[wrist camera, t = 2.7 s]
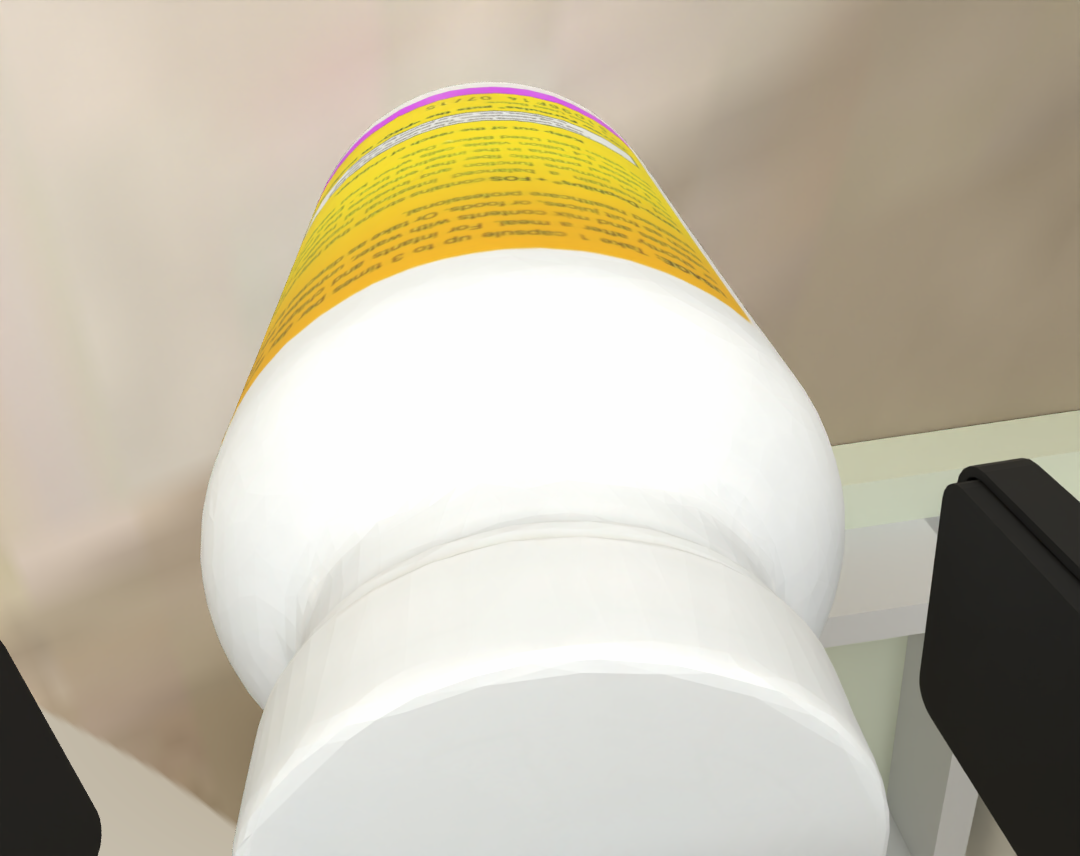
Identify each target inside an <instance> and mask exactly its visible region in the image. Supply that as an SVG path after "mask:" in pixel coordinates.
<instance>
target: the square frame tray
mask: <svg viewBox="0 0 1080 856" xmlns="http://www.w3.org/2000/svg"><path fill="white" fill-rule="evenodd" d="M831 447H832V450H833V453H834V456H835V459H836V463H837V467H838V471H839V476H840V480H841V484H842V491H843V498H844V505H845V551H844V557H843V562H842V568H841V574H840V578H839V582H838V587H837V591H836V595H835V599H834V602H833V605H832V608H831V610H830V613H829V616H828V619H827V621H826V623H825V626H824V628H823V630H822V633H821V635H820V637H819V641H820V642H821V643H822V645H823V647H824V649H825V651H826V653H827V655H828V657H829V659H830V661H831V663H832V665H833V667H834V668H835V671H836V673H837V675H838V678H839V680H840V682H841V685H842V687H843V689H844V692H845V694H846V696H847V699H848V701H849V704H850V707H851V709H852V711H853V714H854V716H855V718H856V720H857V722H858V724H859V726H860V728H861V731H862V733H863V735H864V737H865V739H866V741H867V743H868V746H869V748H870V750H871V752H872V754H873V756H874V758H875V761H876V764H877V766H878V769H879V772H880V774H881V777H882V780H883V784H884V788H885V793H886V798H887V803H888V807H889V825H890V833H889V839H888V846H887V852H886V856H1017V855H1016V853H1015V851H1014V850H1013V848H1012V847H1011V845H1010V843H1009V842H1008V840H1007V839H1006V837H1005V835H1004V834H1003V832H1002V831H1001V829H1000V827H999V826H998V824H997V823H996V821H995V819H994V818H993V816H992V815H991V813H990V812H989V810H988V808H987V807H986V805H985V804H984V802H983V800H982V799H981V797H980V796H979V794H978V792H977V791H976V789H975V788H974V786H973V784H972V783H971V781H970V780H969V778H968V776H967V775H966V773H965V772H964V770H963V768H962V767H961V765H960V764H959V762H958V760H957V759H956V757H955V756H954V754H953V752H952V751H951V749H950V748H949V746H948V745H947V743H946V741H945V740H944V738H943V737H942V735H941V733H940V732H939V730H938V729H937V727H936V725H935V724H934V722H933V721H932V719H931V717H930V716H929V714H928V712H927V710H926V708H925V705H924V703H923V700H922V696H921V692H920V685H919V675H920V667H921V659H922V651H923V644H924V636H925V628H926V620H927V613H928V605H929V597H930V589H931V582H932V574H933V566H934V558H935V551H936V543H937V535H938V527H939V520H940V512H941V504H942V497H943V493H944V490H945V488H946V487H947V486H948V485H950V484H952V483H957V481H958V477H959V475H960V473H961V472H962V470H963V469H964V468H966V467H968V466H973V465H979V464H986V463H992V462H998V461H1005V460H1011V459H1017V458H1026V459H1030V460H1032V461H1033V462H1035V463H1036V464H1038V465H1039V466H1040V467H1041V468H1042V469H1043V470H1045V471H1046V472H1047V473H1048V474H1049V475H1050V476H1051V477H1052V478H1054V479H1055V480H1056V481H1057V482H1058V483H1059V484H1060V485H1061V486H1063V487H1064V488H1065V489H1066V490H1067V491H1068V492H1069V493H1070V494H1072V495H1073V496H1074V497H1075V498H1076V499H1077V500H1078V501H1079V502H1080V410H1077V411H1070V412H1064V413H1057V414H1050V415H1043V416H1036V417H1029V418H1022V419H1016V420H1009V421H1002V422H995V423H988V424H981V425H974V426H967V427H961V428H954V429H947V430H940V431H933V432H926V433H919V434H913V435H906V436H899V437H892V438H885V439H878V440H871V441H864V442H858V443H851V444H844V445H837V446H831Z"/></svg>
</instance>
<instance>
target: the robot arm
mask: <svg viewBox="0 0 1080 856" xmlns="http://www.w3.org/2000/svg"><path fill="white" fill-rule="evenodd" d="M919 685H920V692H921V696H922V700H923V703H924V705H925V708H926V710H927V712H928V714H929V716H930V717H931V719H932V721H933V722H934V724H935V725H936V727H937V729H938V730H939V732H940V733H941V735H942V737H943V738H944V740H945V741H946V743H947V745H948V746H949V748H950V749H951V751H952V752H953V754H954V756H955V757H956V759H957V760H958V762H959V764H960V765H961V767H962V768H963V770H964V772H965V773H966V775H967V776H968V778H969V780H970V781H971V783H972V784H973V786H974V788H975V789H976V791H977V792H978V794H979V796H980V797H981V799H982V800H983V802H984V804H985V805H986V807H987V808H988V810H989V812H990V813H991V815H992V816H993V818H994V819H995V821H996V823H997V824H998V826H999V827H1000V829H1001V831H1002V832H1003V834H1004V835H1005V837H1006V839H1007V840H1008V842H1009V843H1010V845H1011V847H1012V848H1013V850H1014V851H1015V853H1016V855H1017V856H1080V502H1079V501H1078V500H1077V499H1076V498H1075V497H1074V496H1073V495H1072V494H1070V493H1069V492H1068V491H1067V490H1066V489H1065V488H1064V487H1063V486H1061V485H1060V484H1059V483H1058V482H1057V481H1056V480H1055V479H1054V478H1052V477H1051V476H1050V475H1049V474H1048V473H1047V472H1046V471H1045V470H1043V469H1042V468H1041V467H1040V466H1039V465H1038V464H1036V463H1035V462H1033V461H1032V460H1030V459H1026V458H1017V459H1011V460H1005V461H998V462H992V463H986V464H979V465H973V466H968V467H966V468H964V469H963V470H962V472H961V473H960V475H959V477H958V481H957V483H952V484H950V485H948V486H947V487H946V488H945V490H944V493H943V497H942V504H941V512H940V520H939V527H938V535H937V543H936V551H935V558H934V566H933V574H932V582H931V589H930V597H929V605H928V613H927V620H926V628H925V636H924V644H923V651H922V659H921V667H920V675H919ZM100 843H101V823H100V818H99V815H98V813H97V810H96V809H95V807H94V805H93V803H92V801H91V800H90V798H89V796H88V794H87V792H86V791H85V789H84V787H83V785H82V784H81V782H80V780H79V778H78V776H77V775H76V773H75V771H74V769H73V768H72V766H71V764H70V762H69V760H68V759H67V757H66V755H65V753H64V751H63V749H62V748H61V746H60V744H59V743H58V741H57V739H56V737H55V735H54V733H53V732H52V730H51V728H50V727H49V724H48V723H47V721H46V719H45V717H44V715H43V714H42V712H41V710H40V708H39V707H38V705H37V703H36V701H35V699H34V698H33V696H32V694H31V692H30V690H29V689H28V687H27V685H26V683H25V681H24V680H23V678H22V676H21V674H20V673H19V671H18V669H17V667H16V665H15V664H14V662H13V660H12V658H11V656H10V655H9V653H8V651H7V649H6V647H5V646H4V645H3V643H2V642H1V641H0V856H98V852H99V849H100Z"/></svg>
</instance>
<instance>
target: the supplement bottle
mask: <svg viewBox="0 0 1080 856" xmlns="http://www.w3.org/2000/svg"><path fill="white" fill-rule="evenodd" d="M844 551H845V505H844V498H843V491H842V484H841V480H840V476H839V471H838V467H837V463H836V459H835V456H834V453H833V450H832V447H831V444H830V441H829V438H828V435H827V433H826V431H825V428H824V426H823V424H822V421H821V419H820V417H819V415H818V412H817V411H816V409H815V407H814V405H813V404H812V402H811V400H810V398H809V397H808V395H807V393H806V391H805V390H804V388H803V387H802V386H801V384H800V383H799V381H798V380H797V379H796V377H795V376H794V374H793V373H792V372H791V370H790V369H789V368H788V366H787V365H786V363H785V362H784V361H783V359H782V358H781V357H780V355H779V354H778V352H777V351H776V350H775V348H774V347H773V345H772V344H771V343H770V341H769V340H768V339H767V337H766V336H765V335H764V333H763V332H762V331H761V329H760V328H759V327H758V325H757V324H756V323H755V321H754V320H753V319H752V317H751V316H750V315H749V313H748V312H747V310H746V309H745V308H744V306H743V305H742V303H741V302H740V301H739V299H738V298H737V296H736V295H735V293H734V292H733V291H732V289H731V288H730V286H729V285H728V284H727V282H726V281H725V279H724V278H723V277H722V275H721V274H720V272H719V271H718V270H717V268H716V267H715V265H714V264H713V263H712V261H711V260H710V258H709V257H708V255H707V254H706V253H705V251H704V250H703V248H702V247H701V245H700V244H699V242H698V241H697V240H696V238H695V237H694V235H693V234H692V233H691V231H690V230H689V228H688V227H687V225H686V224H685V223H684V221H683V220H682V218H681V217H680V215H679V214H678V213H677V211H676V210H675V208H674V207H673V205H672V204H671V202H670V201H669V200H668V198H667V197H666V195H665V194H664V192H663V191H662V189H661V188H660V186H659V185H658V183H657V182H656V180H655V179H654V178H653V176H652V175H651V173H650V172H649V171H648V169H647V168H646V166H645V165H644V164H643V162H642V161H641V160H640V158H639V157H638V156H637V154H636V153H635V152H634V151H633V149H632V148H631V147H630V146H629V145H628V144H627V142H626V141H625V140H624V139H623V138H622V137H621V136H620V135H619V134H618V133H617V132H616V131H615V130H614V129H613V128H612V127H611V126H609V125H608V124H607V123H606V122H604V121H603V120H602V119H600V118H599V117H598V116H597V115H595V114H594V113H592V112H591V111H589V110H588V109H586V108H584V107H582V106H581V105H579V104H577V103H575V102H573V101H571V100H569V99H567V98H565V97H563V96H560V95H558V94H555V93H552V92H550V91H547V90H544V89H540V88H537V87H532V86H527V85H522V84H515V83H505V82H476V83H468V84H461V85H454V86H448V87H445V88H441V89H438V90H434V91H431V92H428V93H425V94H422V95H420V96H418V97H416V98H414V99H412V100H410V101H408V102H405V103H403V104H401V105H400V106H398V107H397V108H395V109H394V110H392V111H391V112H389V113H388V114H386V115H385V116H383V117H382V118H380V119H379V120H377V121H376V122H375V123H374V124H373V125H372V126H370V127H369V128H368V129H367V130H366V131H365V132H364V133H363V134H362V135H361V136H360V137H359V138H358V139H357V140H356V141H355V142H354V143H353V144H352V145H351V147H350V148H349V149H348V151H347V152H346V153H345V154H344V156H343V157H342V158H341V160H340V161H339V163H338V165H337V166H336V168H335V169H334V171H333V172H332V174H331V176H330V178H329V180H328V182H327V184H326V186H325V188H324V190H323V192H322V195H321V197H320V199H319V201H318V204H317V206H316V209H315V212H314V214H313V217H312V219H311V222H310V224H309V227H308V229H307V231H306V234H305V237H304V239H303V242H302V245H301V247H300V250H299V252H298V255H297V258H296V260H295V263H294V265H293V267H292V270H291V272H290V275H289V277H288V280H287V282H286V285H285V287H284V290H283V292H282V295H281V297H280V300H279V303H278V305H277V308H276V310H275V312H274V314H273V317H272V320H271V322H270V325H269V327H268V330H267V332H266V335H265V337H264V340H263V342H262V345H261V348H260V350H259V353H258V355H257V358H256V360H255V363H254V365H253V367H252V370H251V372H250V375H249V377H248V379H247V382H246V384H245V387H244V389H243V392H242V394H241V397H240V399H239V402H238V404H237V407H236V410H235V412H234V415H233V417H232V419H231V422H230V424H229V426H228V429H227V431H226V433H225V436H224V438H223V441H222V444H221V448H220V450H219V453H218V456H217V458H216V461H215V464H214V467H213V470H212V473H211V477H210V480H209V483H208V488H207V493H206V498H205V503H204V508H203V516H202V530H201V558H200V560H201V569H202V578H203V585H204V590H205V596H206V601H207V605H208V608H209V611H210V615H211V618H212V622H213V625H214V628H215V630H216V633H217V636H218V638H219V641H220V644H221V646H222V648H223V650H224V652H225V654H226V656H227V658H228V660H229V662H230V664H231V666H232V667H233V669H234V670H235V672H236V674H237V675H238V677H239V678H240V680H241V682H242V683H243V685H244V686H245V688H246V689H247V691H248V693H249V694H250V695H251V696H252V698H253V699H254V700H255V701H256V702H257V703H258V705H259V706H260V707H261V708H262V709H263V710H264V711H263V714H262V717H261V720H260V723H259V727H258V730H257V734H256V739H255V743H254V748H253V752H252V757H251V761H250V766H249V770H248V775H247V779H246V784H245V788H244V793H243V798H242V803H241V807H240V812H239V817H238V822H237V827H236V832H235V837H234V842H233V849H232V856H886V852H887V846H888V839H889V833H890V825H889V807H888V803H887V798H886V793H885V788H884V784H883V780H882V777H881V774H880V772H879V769H878V766H877V764H876V761H875V758H874V756H873V754H872V752H871V750H870V748H869V746H868V743H867V741H866V739H865V737H864V735H863V733H862V731H861V728H860V726H859V724H858V722H857V720H856V718H855V716H854V714H853V711H852V709H851V707H850V704H849V701H848V699H847V696H846V694H845V692H844V689H843V687H842V685H841V682H840V680H839V678H838V675H837V673H836V671H835V668H834V667H833V665H832V663H831V661H830V659H829V657H828V655H827V653H826V651H825V649H824V647H823V645H822V643H821V642H820V641H819V637H820V635H821V633H822V630H823V628H824V626H825V623H826V621H827V619H828V616H829V613H830V610H831V608H832V605H833V602H834V599H835V595H836V591H837V587H838V582H839V578H840V574H841V568H842V562H843V557H844Z"/></svg>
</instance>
